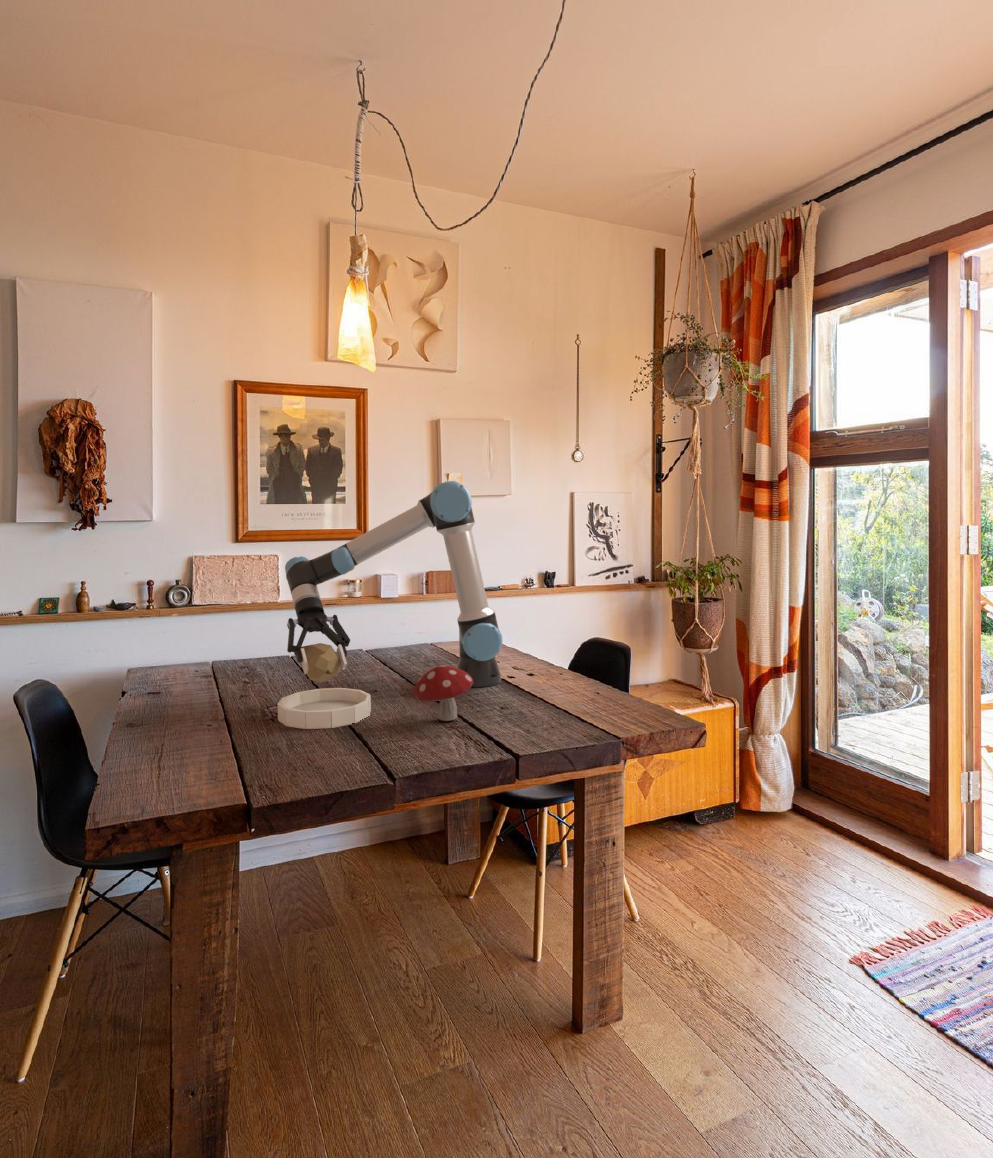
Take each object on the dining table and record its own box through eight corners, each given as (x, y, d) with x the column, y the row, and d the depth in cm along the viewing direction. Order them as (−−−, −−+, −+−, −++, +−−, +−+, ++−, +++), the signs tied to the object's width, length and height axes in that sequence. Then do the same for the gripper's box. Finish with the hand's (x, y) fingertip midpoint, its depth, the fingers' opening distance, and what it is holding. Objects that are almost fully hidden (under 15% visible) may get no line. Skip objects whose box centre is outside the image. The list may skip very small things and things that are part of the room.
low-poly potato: (310, 674, 196) (279, 661, 187) (331, 641, 197) (301, 627, 188) (338, 698, 186) (306, 686, 178) (359, 663, 187) (329, 650, 178)
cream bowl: (373, 701, 202) (373, 686, 201) (366, 726, 178) (365, 709, 177) (289, 704, 199) (288, 689, 199) (270, 730, 175) (269, 713, 175)
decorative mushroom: (472, 730, 174) (472, 672, 172) (409, 731, 174) (408, 672, 172) (475, 712, 190) (474, 658, 188) (417, 712, 190) (416, 659, 188)
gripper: (343, 609, 205) (362, 671, 193) (265, 614, 193) (281, 681, 181) (348, 593, 200) (369, 656, 188) (269, 598, 188) (286, 665, 176)
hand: (326, 668), depth 185 cm, fingers closed on low-poly potato, 10 cm apart
